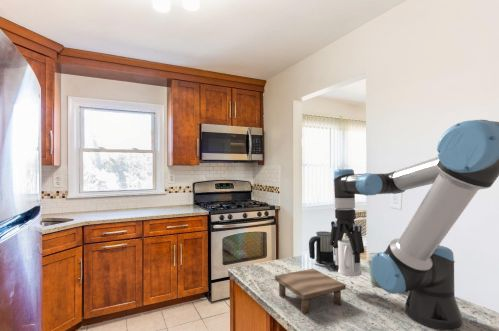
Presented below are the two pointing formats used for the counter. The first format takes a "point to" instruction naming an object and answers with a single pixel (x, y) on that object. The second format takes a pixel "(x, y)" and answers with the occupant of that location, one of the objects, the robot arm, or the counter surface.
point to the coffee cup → (371, 270)
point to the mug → (346, 259)
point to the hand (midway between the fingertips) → (346, 267)
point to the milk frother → (322, 249)
